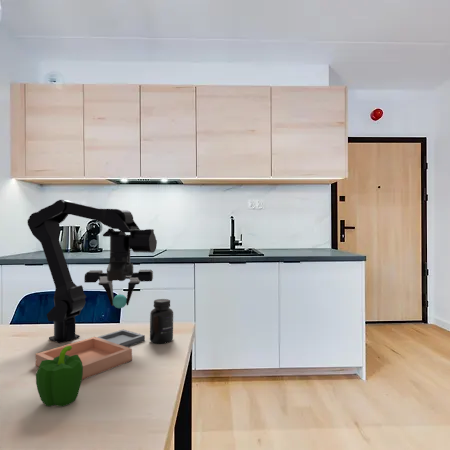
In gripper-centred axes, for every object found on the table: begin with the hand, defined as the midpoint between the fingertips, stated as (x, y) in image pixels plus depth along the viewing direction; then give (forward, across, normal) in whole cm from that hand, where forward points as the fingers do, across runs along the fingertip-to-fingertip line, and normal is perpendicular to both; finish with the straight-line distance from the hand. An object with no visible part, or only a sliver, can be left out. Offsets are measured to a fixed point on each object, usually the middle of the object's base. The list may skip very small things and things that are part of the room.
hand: (119, 305), depth 100 cm
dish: (+11, -6, -15) cm, 19 cm away
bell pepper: (+11, -6, -33) cm, 36 cm away
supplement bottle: (+11, +12, 0) cm, 16 cm away
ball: (-1, 0, 0) cm, 1 cm away
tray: (+11, 0, 0) cm, 11 cm away
